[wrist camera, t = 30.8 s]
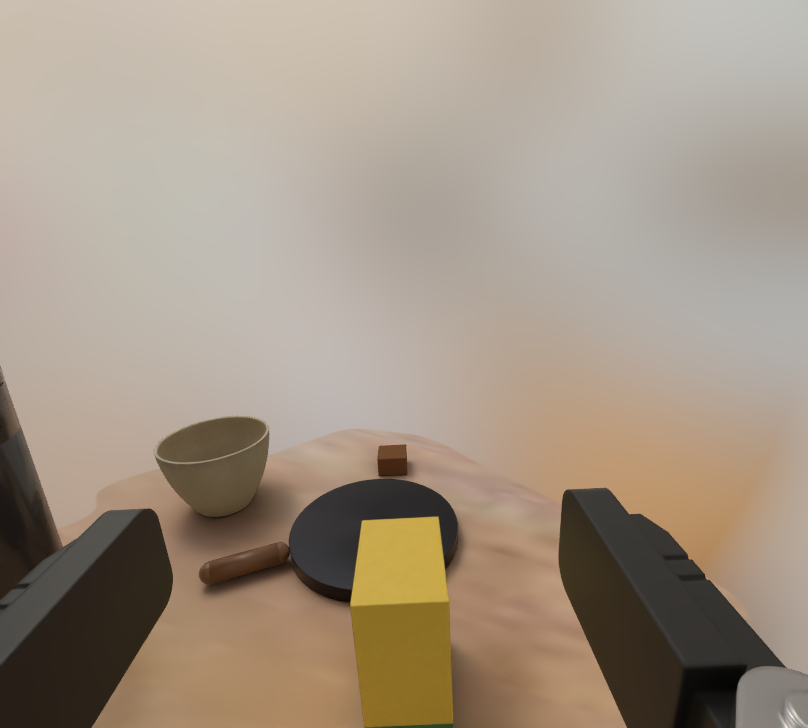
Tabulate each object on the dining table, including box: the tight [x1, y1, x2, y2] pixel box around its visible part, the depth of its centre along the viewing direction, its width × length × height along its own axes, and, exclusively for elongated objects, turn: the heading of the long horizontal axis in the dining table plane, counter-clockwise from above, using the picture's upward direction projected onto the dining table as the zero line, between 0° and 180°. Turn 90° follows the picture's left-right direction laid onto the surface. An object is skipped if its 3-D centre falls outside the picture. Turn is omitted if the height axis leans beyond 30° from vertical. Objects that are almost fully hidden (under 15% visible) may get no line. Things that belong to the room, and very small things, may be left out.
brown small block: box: [377, 445, 407, 476], centre depth 47 cm, size 3×3×2 cm
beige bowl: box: [154, 416, 269, 517], centre depth 42 cm, size 10×10×7 cm
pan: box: [199, 479, 458, 603], centre depth 36 cm, size 21×14×2 cm
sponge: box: [350, 517, 453, 728], centre depth 23 cm, size 4×6×9 cm
